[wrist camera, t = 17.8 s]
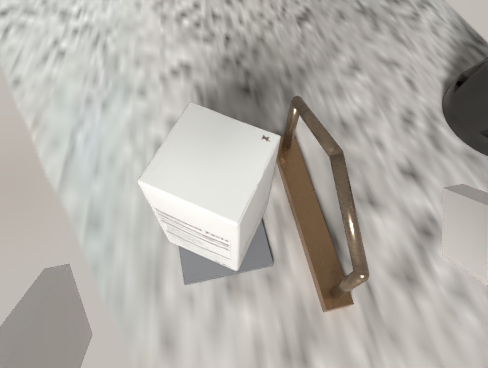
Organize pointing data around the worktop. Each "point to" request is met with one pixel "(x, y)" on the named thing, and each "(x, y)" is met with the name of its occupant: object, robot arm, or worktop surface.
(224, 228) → the supplement box
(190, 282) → the mat
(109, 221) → the worktop surface
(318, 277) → the cabinet door handle
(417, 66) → the worktop surface
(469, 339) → the worktop surface
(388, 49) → the worktop surface
